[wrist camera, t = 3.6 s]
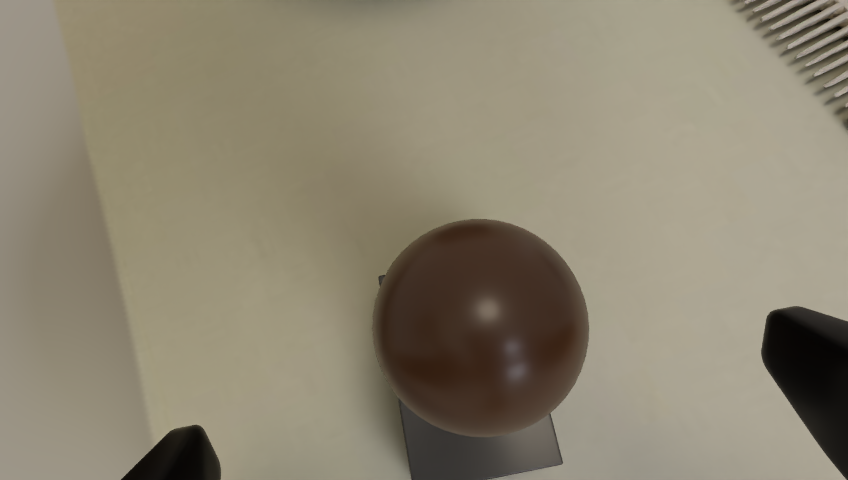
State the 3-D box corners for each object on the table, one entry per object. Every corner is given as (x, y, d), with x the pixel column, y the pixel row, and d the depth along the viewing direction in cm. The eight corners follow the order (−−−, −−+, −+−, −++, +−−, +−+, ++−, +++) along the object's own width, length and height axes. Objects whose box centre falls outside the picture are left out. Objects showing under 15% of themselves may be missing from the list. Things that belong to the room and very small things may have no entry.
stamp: (549, 458, 16) (718, 525, 6) (417, 484, 16) (369, 598, 6) (502, 268, 18) (572, 83, 8) (385, 291, 18) (308, 132, 8)
